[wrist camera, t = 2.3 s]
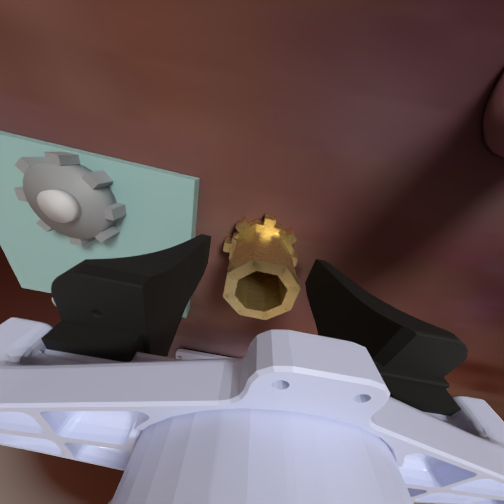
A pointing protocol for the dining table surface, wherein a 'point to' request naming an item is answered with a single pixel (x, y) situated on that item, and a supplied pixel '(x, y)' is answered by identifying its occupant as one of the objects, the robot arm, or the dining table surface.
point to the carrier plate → (85, 208)
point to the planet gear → (261, 269)
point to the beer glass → (495, 119)
